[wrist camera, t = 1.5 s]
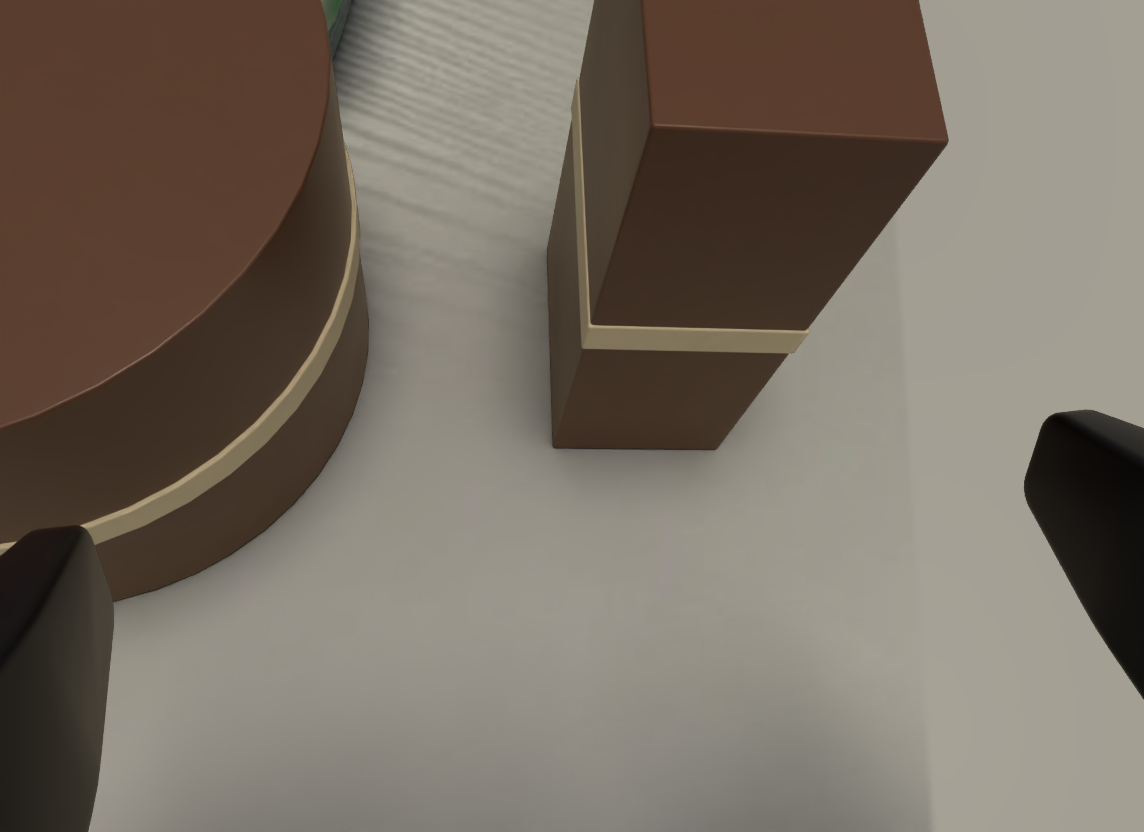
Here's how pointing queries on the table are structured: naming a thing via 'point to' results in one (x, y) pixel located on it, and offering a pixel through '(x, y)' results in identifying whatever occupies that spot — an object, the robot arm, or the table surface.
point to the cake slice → (721, 200)
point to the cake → (171, 275)
